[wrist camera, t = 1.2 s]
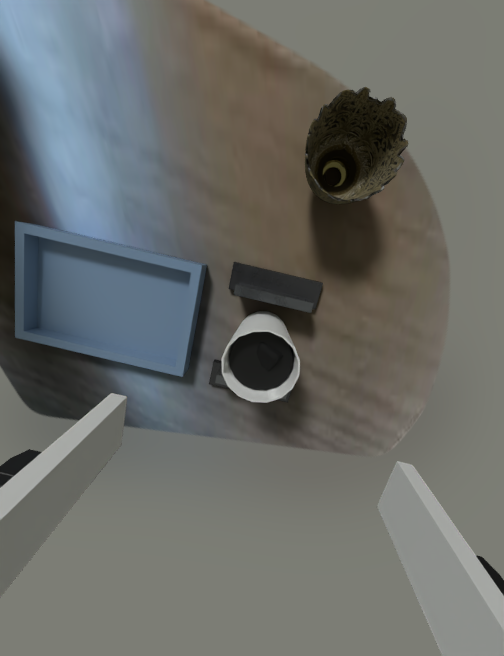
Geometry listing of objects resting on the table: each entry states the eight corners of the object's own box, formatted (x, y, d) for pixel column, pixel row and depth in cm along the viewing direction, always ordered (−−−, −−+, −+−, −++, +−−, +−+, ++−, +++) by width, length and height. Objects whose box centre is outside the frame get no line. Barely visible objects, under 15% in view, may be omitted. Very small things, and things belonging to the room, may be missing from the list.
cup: (283, 198, 29) (289, 176, 21) (314, 122, 27) (333, 68, 19) (348, 226, 29) (377, 215, 21) (383, 154, 27) (429, 112, 19)
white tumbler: (255, 295, 31) (249, 312, 22) (302, 328, 32) (316, 358, 22) (224, 340, 33) (206, 375, 23) (269, 370, 34) (269, 416, 24)
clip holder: (234, 261, 31) (230, 262, 27) (321, 282, 31) (329, 286, 27) (210, 381, 34) (203, 396, 31) (287, 399, 34) (289, 417, 31)
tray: (34, 223, 31) (14, 221, 28) (207, 264, 31) (201, 265, 28) (33, 331, 34) (15, 337, 32) (188, 368, 34) (182, 376, 32)
